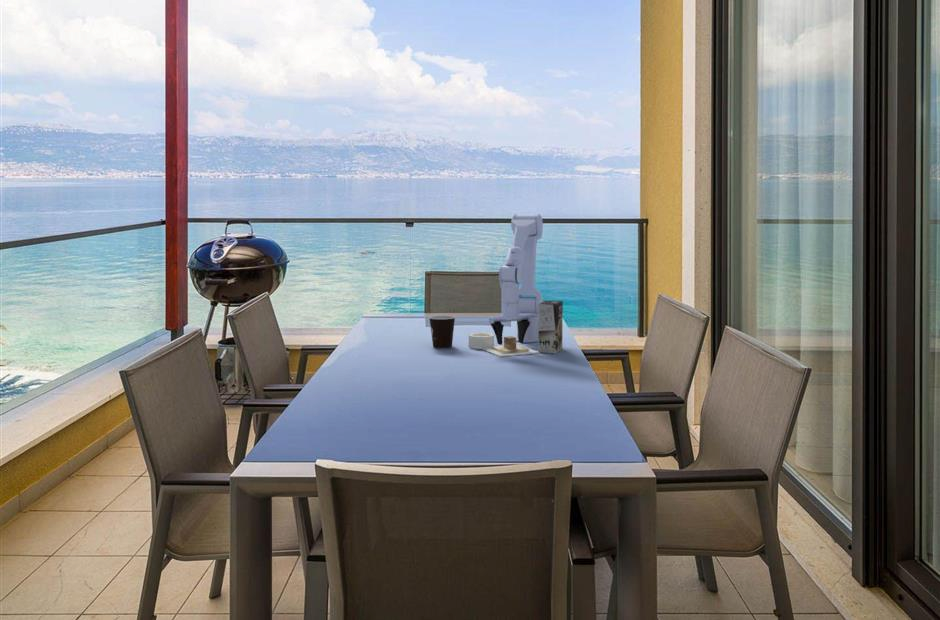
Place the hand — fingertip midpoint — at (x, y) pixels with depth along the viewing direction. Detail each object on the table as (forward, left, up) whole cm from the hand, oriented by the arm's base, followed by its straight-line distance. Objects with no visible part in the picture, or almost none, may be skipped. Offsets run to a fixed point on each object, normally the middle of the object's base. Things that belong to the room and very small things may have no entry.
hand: (510, 343), depth 278 cm
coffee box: (-13, +4, -3) cm, 14 cm away
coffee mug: (+16, -19, -3) cm, 25 cm away
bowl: (+5, -12, -3) cm, 13 cm away
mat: (0, 0, -3) cm, 3 cm away
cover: (0, 0, -2) cm, 2 cm away
